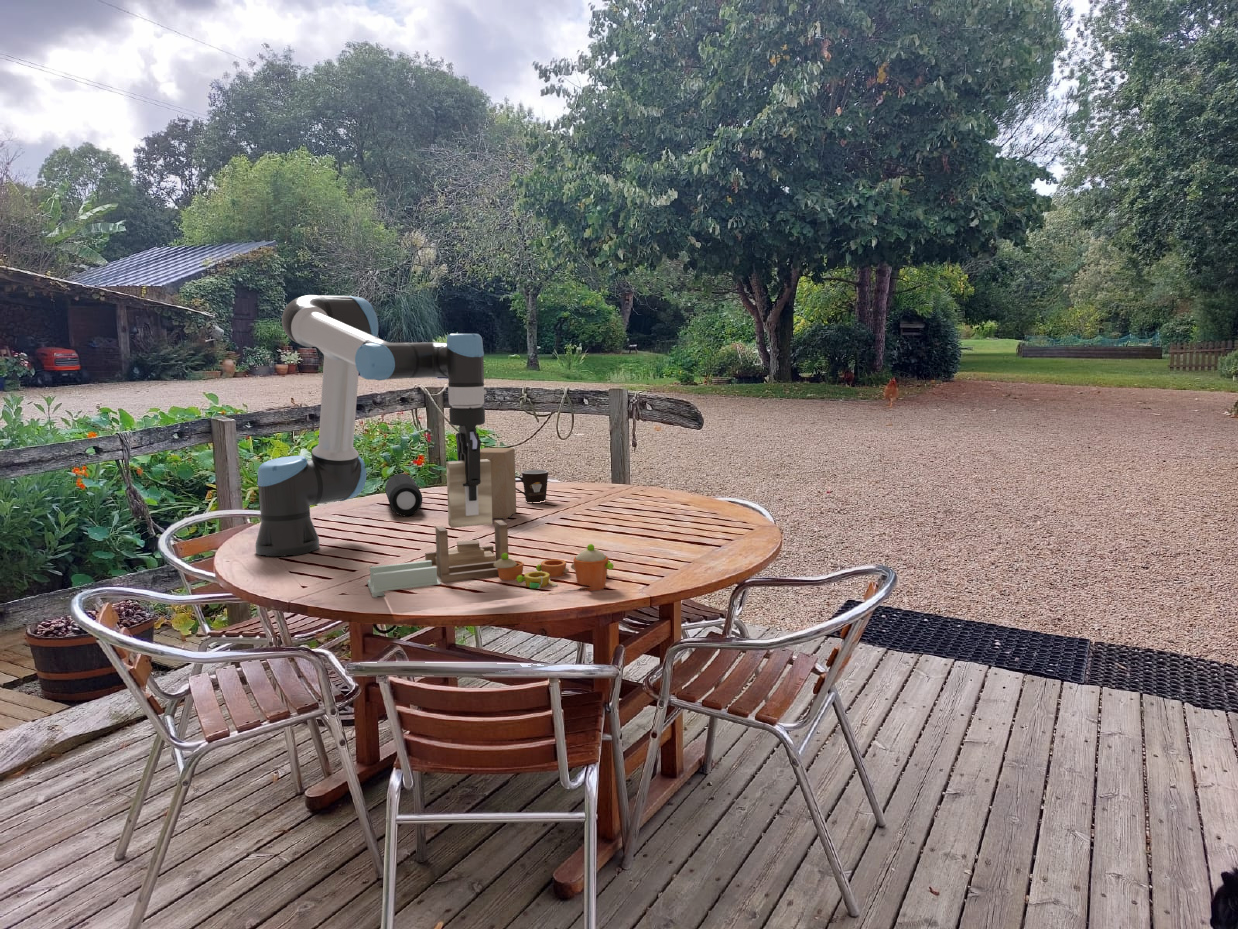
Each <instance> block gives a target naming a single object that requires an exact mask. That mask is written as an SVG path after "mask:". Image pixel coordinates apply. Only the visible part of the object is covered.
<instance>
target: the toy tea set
mask: <svg viewBox="0 0 1238 929" xmlns="http://www.w3.org/2000/svg"><path fill="white" fill-rule="evenodd" d="M586 547H587V548H586V549H584V550H581V551H580V552H579V553H578V554H577V555H576V556H574V557H573V563H571V566H570V568H571V569H572V570H574V572H575V577H576V583H577V584H578V585H582V586H588V587H582V588H581V587H580V588H579V590H581V591H585V592H586V591H589V592H594V591H601V590H603V589H604V588H606V582H607V576H608V570H612V569H614V564H613V563H612V562H611V561H610V560H609V557H608V556H607V555H605V554H604V552H602V551H600V550H599V549H596V548H595V545H594V544H592V543H589V544H588V545H587V546H586ZM508 557H509V553H508V554H507V553H503V554H502V556H501V558H502V559H499V560H498V561H496V562H495V563H494V564H493V566H494V567H496V568H497V569H498V574H499V575H498V578H499V579H500V580H502V581H503V580H504V581H517V583H523V582H525V586H526V587H528V588H529V589H541V588H544V587H547V586H548V585H549V586H550V587H553V588H554V587H555V588H556V587H558V586H559V585H558V583H557V582H554V581H552V580H551V578H555V577H561V576H564V575H565V574H567V573H569V572H570V569H569V568H567V561H565V560H563V559H547V560H543V561H541V562H540V564H537V565H536V567H535V570H536V571H528V572H526V573H525V574H523V572H524V564H525V563H524V562H523V561H521V560H516V559H512V558H508ZM523 575H524V576H523ZM550 577H551V578H550ZM543 594H545V592H544V593H541V595H543Z"/></svg>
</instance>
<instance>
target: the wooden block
mask: <svg viewBox="0 0 1238 929" xmlns="http://www.w3.org/2000/svg"><path fill="white" fill-rule="evenodd" d="M515 454H516V453H515V448H514V447H483V448H480V460H482V459H488V460H489V461H491V489H492V518H503V519H502V520H507V519H509V518H510V517H512V516H513V515H515V514H516V513H517V490H516V488H517V487H516V484H517V483H516V482H517V481H516V478H515V476H516V456H515ZM512 514H513V515H512ZM511 515H512V516H511ZM508 517H509V518H508Z"/></svg>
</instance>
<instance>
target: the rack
mask: <svg viewBox="0 0 1238 929" xmlns="http://www.w3.org/2000/svg"><path fill="white" fill-rule="evenodd" d="M508 528H509V527H508V524H507V523H506V522H505V521H504V520H503V519H495V520H494V544H495V545H486V546H480V541H479V540H480V539H469V540H457V541H456V547H453V548H449V537H448V536H449V535H448V534H449V533H448V529H447V528H446V527H444V525H436V526H435V546H436V547H435V549H436V550H435V551H430V552H424V558H425V560H424V561H427V560H431V561H432V567H433V566H436V568H437V579H438V580H439V582H440V583H447V582H454V581H463V580H471V579H472V580H473V579H480V578H489V577H496V576H499V574H498V569H497V568H496V567H494V566H493V564H494V563H495V562H496V561H498V560H499V559H502V558H501V556H502V554H503V553H507V554H508V555H509V535H508V534H509V532H508V531H509V530H508ZM494 547H495V548H494ZM494 549H495V551H494ZM494 553H495V554H494ZM508 558H509V556H508ZM509 559H510V558H509Z"/></svg>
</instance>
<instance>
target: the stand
mask: <svg viewBox="0 0 1238 929" xmlns="http://www.w3.org/2000/svg"><path fill="white" fill-rule="evenodd" d="M369 573H370V575H369V577H370V578H369V579H367V582H366V583H367V586H368V590H369V591H370V593H372V594H371V596H372V597H375V598H378V597H377V596H383V597H386V595H385V592H386V591H388V592H389V591H397V590H404V589H412V588H419V587H427V586H436V585H442V582H439V580H438V579H437V568H436V566H433V567H432V561H431V560H427V561H425V560H421V561H420V560H418V561H412V562H411V561H410V562H402V563H392V564H384V565H383V564H381V565H377V566H369Z"/></svg>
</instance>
